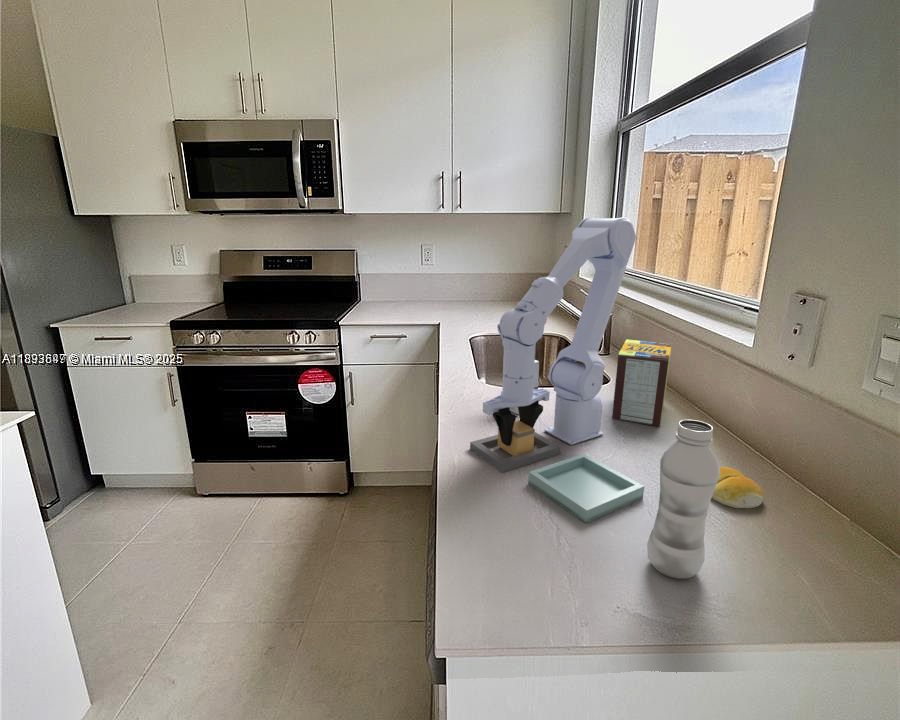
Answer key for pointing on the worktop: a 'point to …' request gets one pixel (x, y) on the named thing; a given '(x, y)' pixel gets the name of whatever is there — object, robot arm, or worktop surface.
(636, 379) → the protein box
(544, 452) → the grey rectangular frame
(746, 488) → the bread roll
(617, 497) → the parts tray
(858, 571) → the worktop surface
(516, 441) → the tan box
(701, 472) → the plastic bottle
